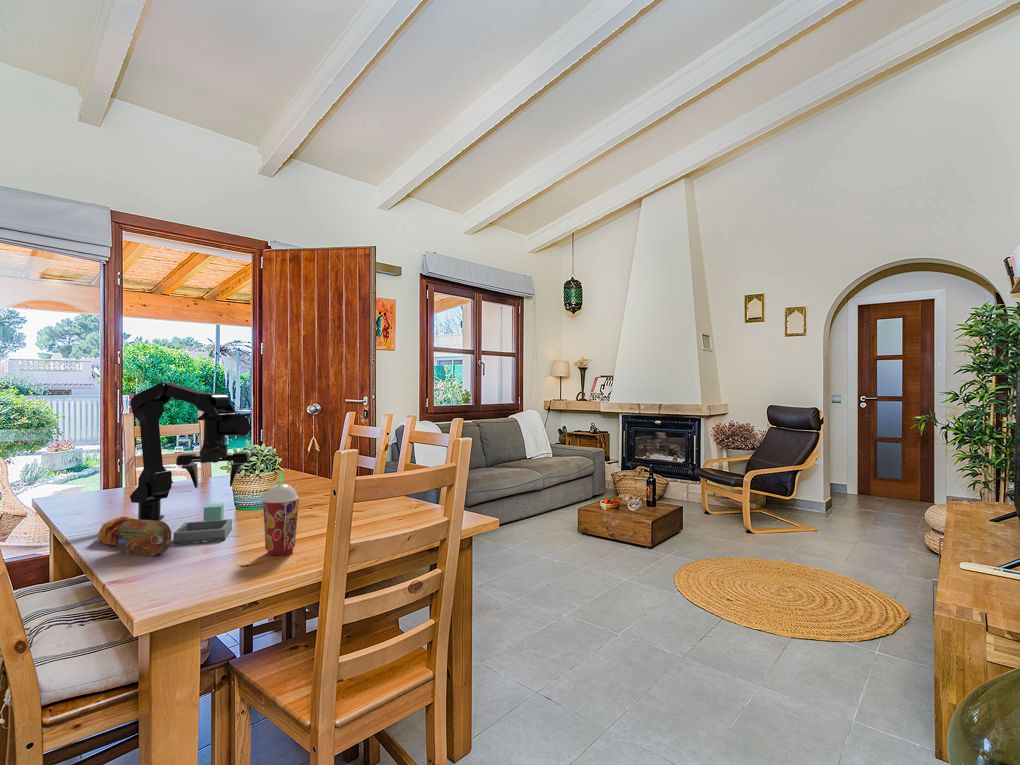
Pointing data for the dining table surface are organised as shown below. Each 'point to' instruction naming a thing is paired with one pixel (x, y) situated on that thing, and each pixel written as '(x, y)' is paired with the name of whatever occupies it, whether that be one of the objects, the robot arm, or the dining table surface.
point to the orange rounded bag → (143, 537)
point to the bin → (202, 531)
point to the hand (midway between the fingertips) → (213, 487)
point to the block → (213, 512)
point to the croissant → (111, 530)
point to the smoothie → (280, 518)
